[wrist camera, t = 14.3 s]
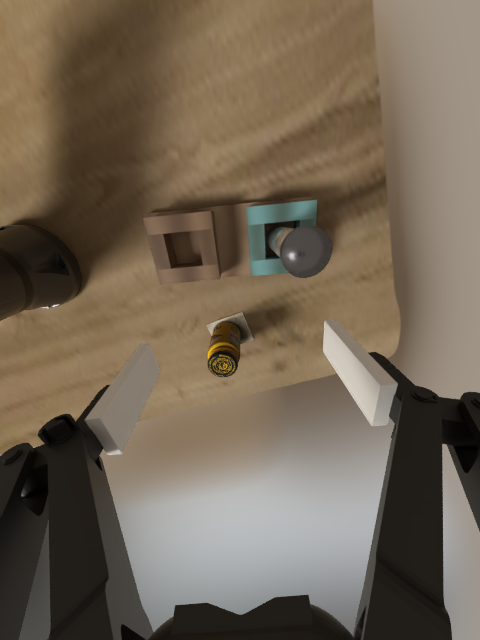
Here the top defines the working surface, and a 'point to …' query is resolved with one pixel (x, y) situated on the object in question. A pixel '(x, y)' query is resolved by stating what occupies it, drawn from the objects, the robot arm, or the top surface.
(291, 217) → the dock station
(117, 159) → the top surface
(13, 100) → the top surface
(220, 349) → the condiment
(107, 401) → the robot arm
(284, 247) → the steel pin
